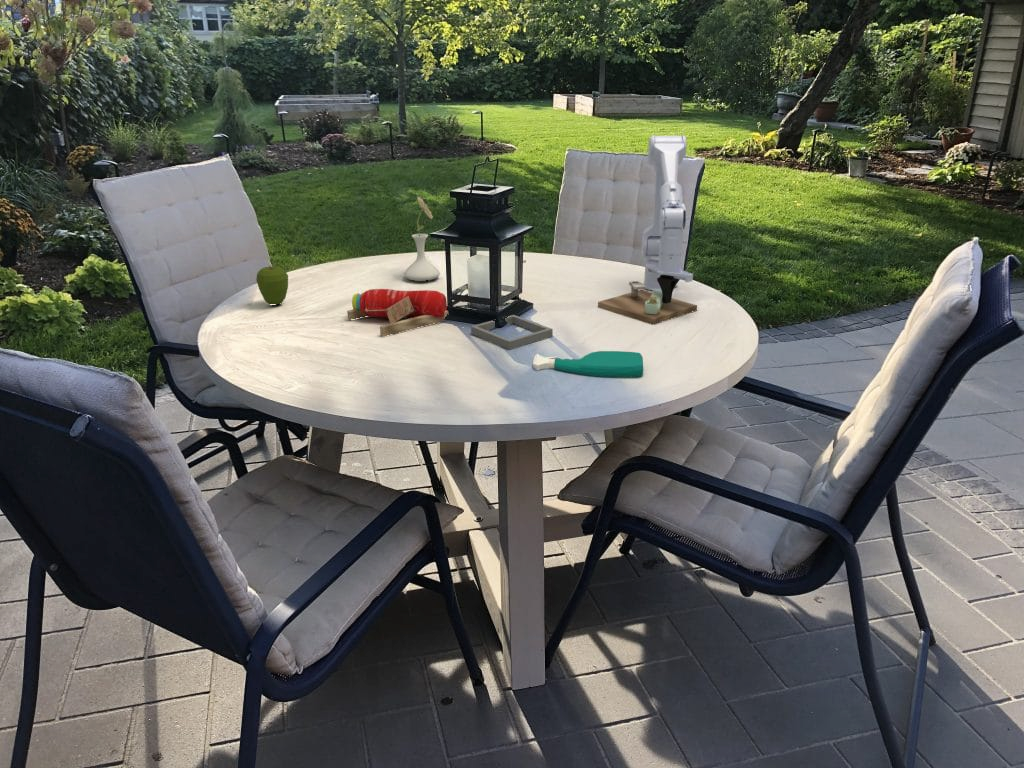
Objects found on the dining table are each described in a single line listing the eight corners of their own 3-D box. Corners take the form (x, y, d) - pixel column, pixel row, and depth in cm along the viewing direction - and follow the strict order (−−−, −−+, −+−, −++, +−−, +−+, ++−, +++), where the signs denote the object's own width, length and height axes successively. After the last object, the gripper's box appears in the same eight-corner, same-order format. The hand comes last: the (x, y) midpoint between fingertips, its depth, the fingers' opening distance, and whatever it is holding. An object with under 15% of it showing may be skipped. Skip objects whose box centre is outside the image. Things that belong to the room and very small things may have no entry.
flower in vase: (438, 284, 237) (434, 201, 227) (401, 284, 237) (396, 201, 228) (442, 272, 249) (439, 194, 239) (407, 272, 249) (402, 194, 240)
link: (658, 314, 203) (659, 305, 202) (643, 313, 204) (643, 304, 203) (667, 299, 216) (667, 290, 215) (652, 297, 217) (653, 289, 216)
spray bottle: (643, 380, 168) (530, 377, 171) (642, 362, 178) (535, 359, 181) (643, 368, 167) (530, 365, 170) (642, 350, 177) (535, 347, 180)
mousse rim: (513, 322, 203) (513, 314, 203) (552, 336, 193) (552, 329, 192) (471, 333, 195) (471, 326, 194) (509, 349, 185) (509, 341, 184)
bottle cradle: (411, 304, 218) (410, 296, 217) (448, 320, 205) (448, 311, 204) (348, 319, 206) (347, 310, 205) (383, 337, 193) (382, 327, 192)
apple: (267, 311, 213) (262, 271, 208) (254, 305, 219) (249, 265, 214) (296, 305, 218) (292, 265, 214) (283, 298, 224) (278, 259, 219)
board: (641, 294, 226) (642, 275, 223) (696, 310, 211) (698, 290, 209) (597, 307, 215) (598, 287, 213) (653, 324, 201) (655, 303, 199)
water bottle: (436, 304, 195) (341, 300, 199) (439, 332, 199) (346, 328, 203) (447, 283, 205) (356, 280, 209) (449, 310, 209) (361, 307, 213)
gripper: (639, 250, 208) (636, 299, 213) (682, 260, 198) (678, 311, 203) (656, 246, 212) (653, 294, 217) (699, 256, 202) (695, 306, 207)
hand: (666, 302), depth 211 cm, fingers closed, pressing on link
